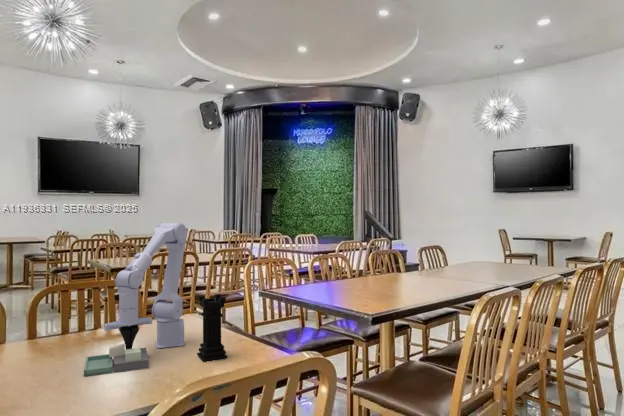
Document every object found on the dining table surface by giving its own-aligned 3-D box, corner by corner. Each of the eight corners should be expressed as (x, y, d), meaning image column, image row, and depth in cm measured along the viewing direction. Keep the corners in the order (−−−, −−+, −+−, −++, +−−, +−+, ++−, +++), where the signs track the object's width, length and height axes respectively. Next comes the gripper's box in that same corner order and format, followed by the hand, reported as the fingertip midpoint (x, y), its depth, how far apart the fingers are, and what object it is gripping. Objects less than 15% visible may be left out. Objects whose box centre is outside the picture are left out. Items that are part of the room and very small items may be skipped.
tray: (112, 359, 149) (112, 353, 149) (112, 372, 137) (112, 366, 137) (86, 362, 146) (86, 356, 146) (83, 376, 134) (83, 370, 134)
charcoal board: (145, 354, 154) (145, 347, 154) (148, 367, 141) (148, 359, 141) (113, 359, 150) (113, 351, 150) (113, 372, 137) (113, 364, 137)
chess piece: (203, 362, 146) (202, 300, 146) (197, 355, 153) (197, 295, 153) (227, 358, 150) (227, 297, 150) (220, 351, 157) (220, 293, 157)
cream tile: (124, 351, 149) (124, 343, 149) (124, 355, 145) (124, 347, 145) (109, 353, 148) (109, 345, 148) (109, 357, 144) (109, 349, 144)
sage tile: (140, 355, 145) (140, 347, 145) (140, 360, 141) (140, 351, 141) (124, 357, 143) (124, 349, 143) (125, 362, 139) (125, 353, 139)
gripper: (147, 302, 155) (147, 342, 155) (101, 308, 146) (101, 350, 146) (154, 305, 150) (154, 347, 150) (107, 312, 141) (107, 356, 141)
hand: (128, 349), depth 148 cm, fingers closed
